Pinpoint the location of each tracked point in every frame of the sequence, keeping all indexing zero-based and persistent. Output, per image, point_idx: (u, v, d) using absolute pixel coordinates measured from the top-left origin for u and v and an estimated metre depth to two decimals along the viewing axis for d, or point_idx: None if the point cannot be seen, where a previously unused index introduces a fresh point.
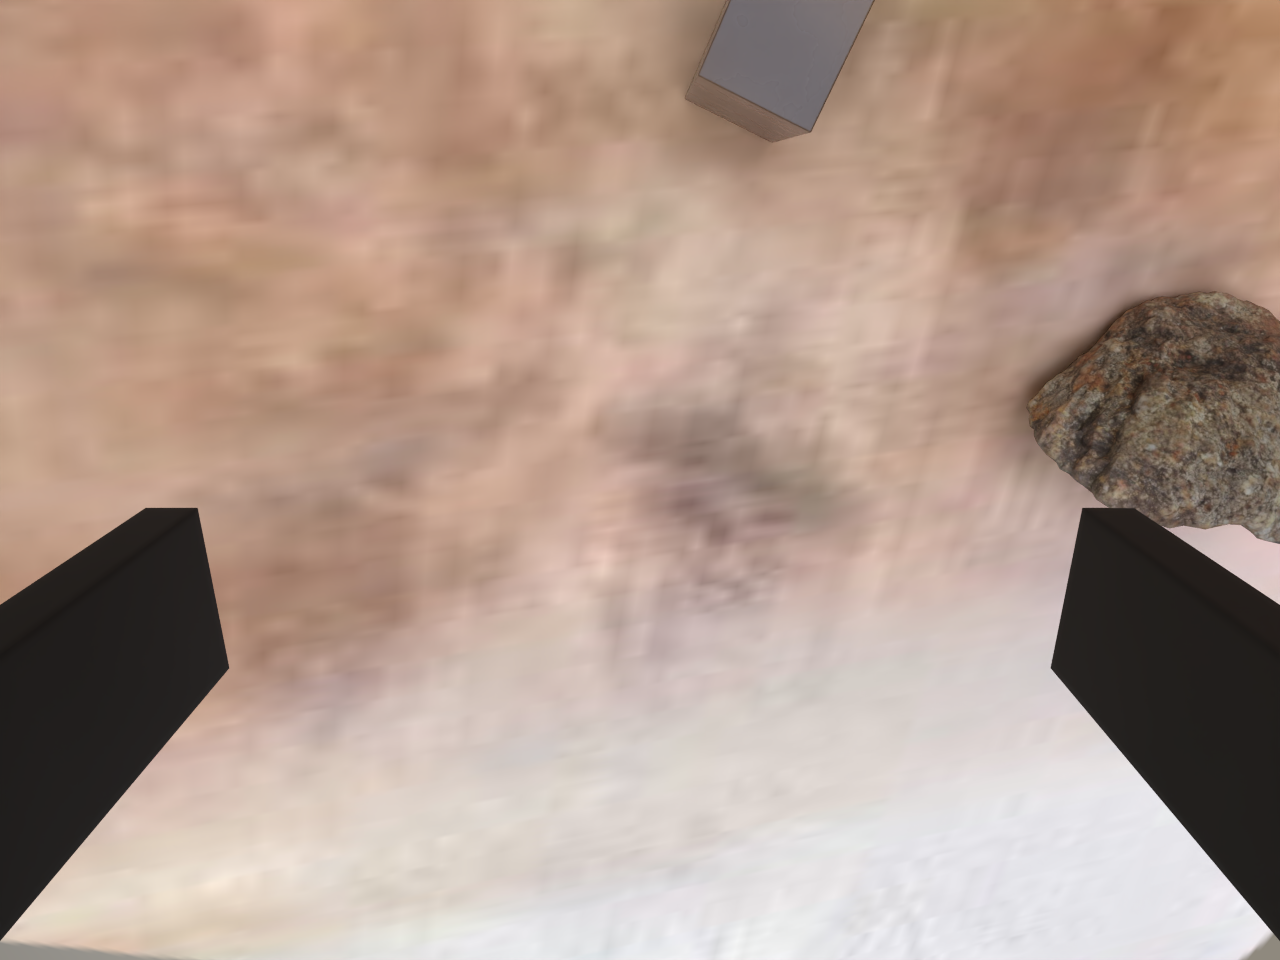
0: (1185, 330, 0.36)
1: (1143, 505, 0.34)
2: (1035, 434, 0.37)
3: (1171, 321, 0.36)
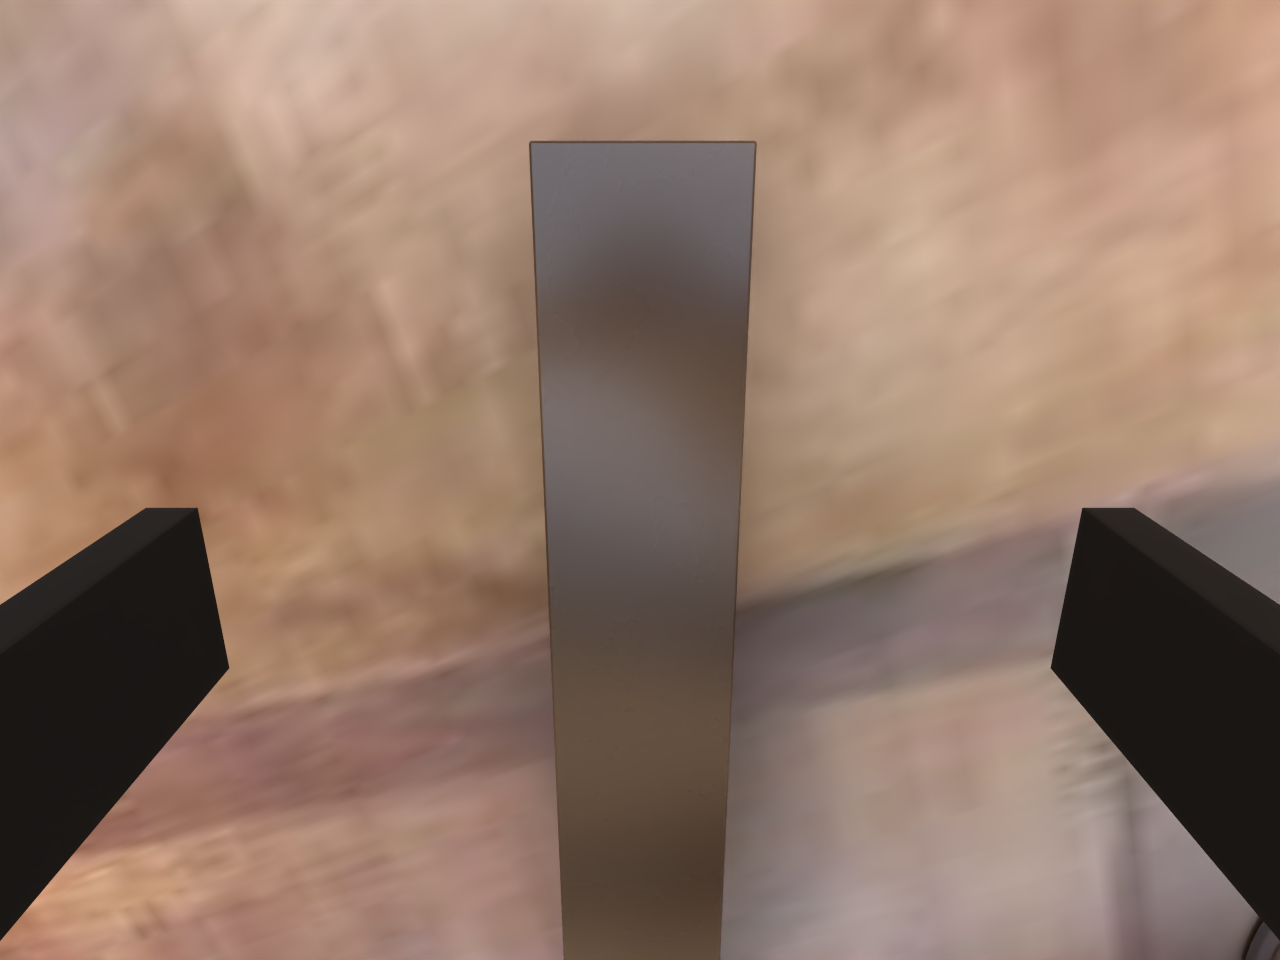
0: None
1: None
2: None
3: None
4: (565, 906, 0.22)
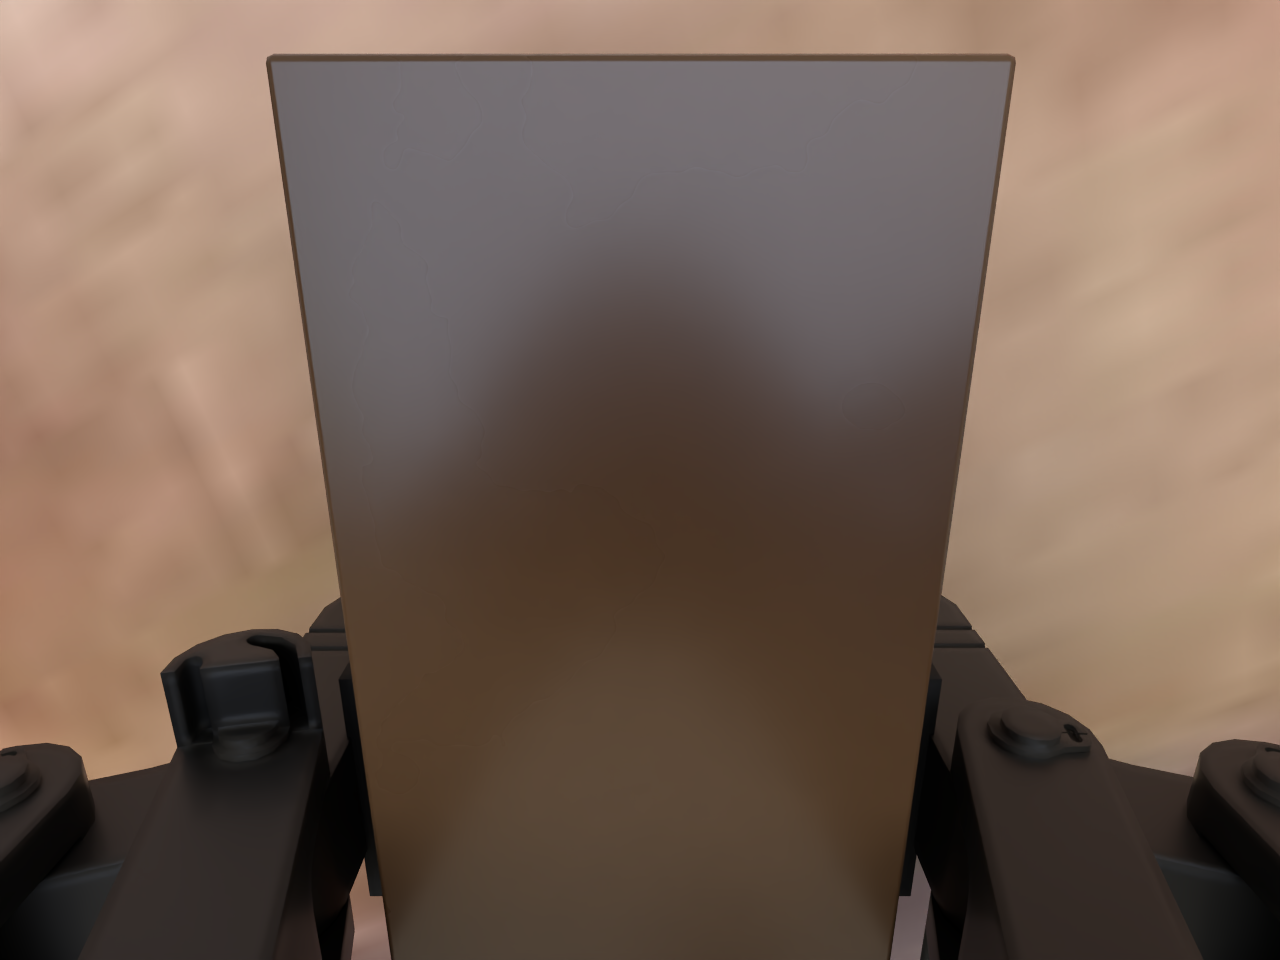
0: None
1: None
2: None
3: None
4: None
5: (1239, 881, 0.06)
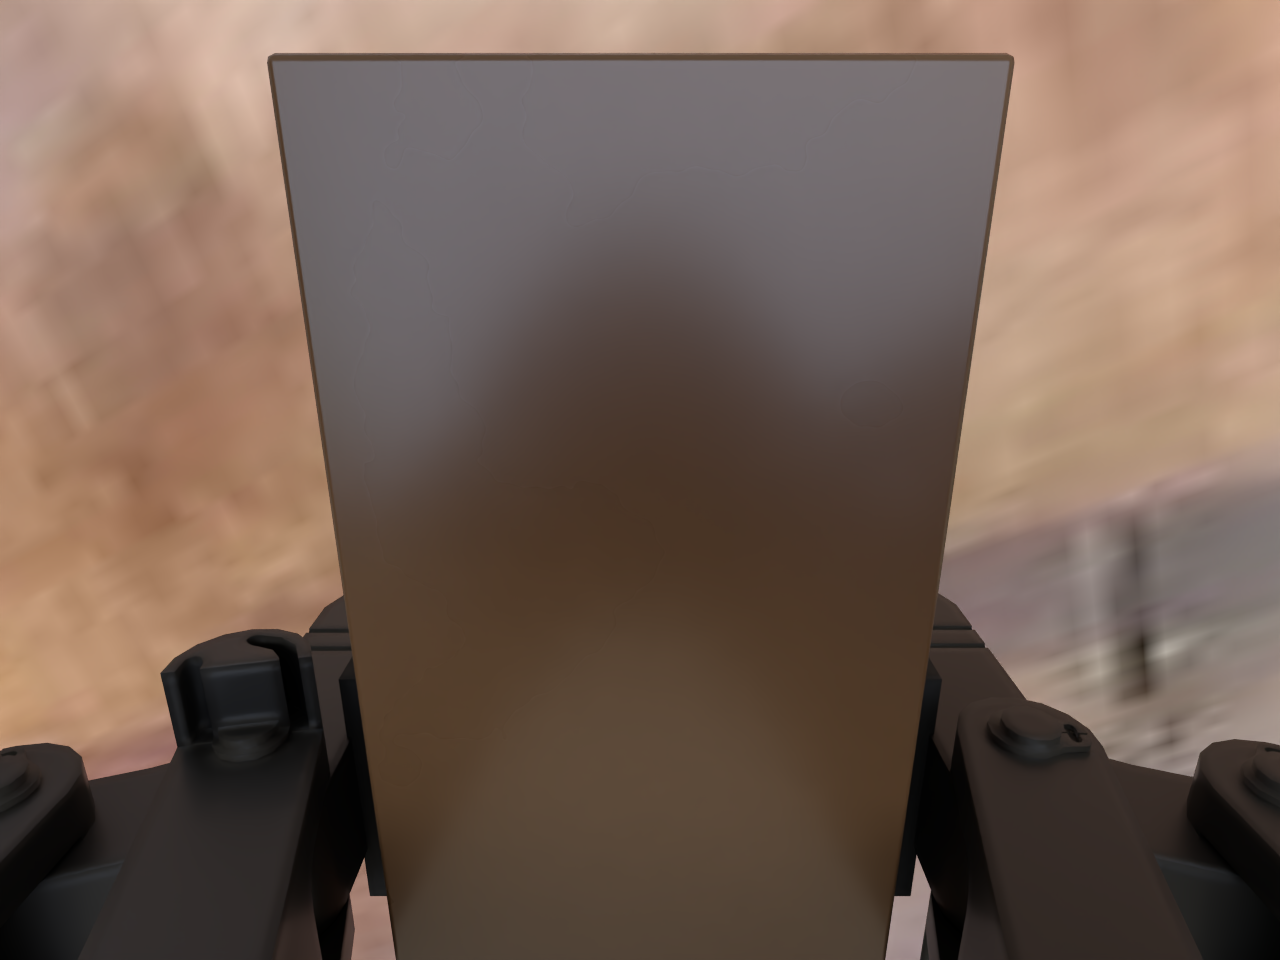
0: None
1: None
2: None
3: None
4: None
5: (1238, 880, 0.06)
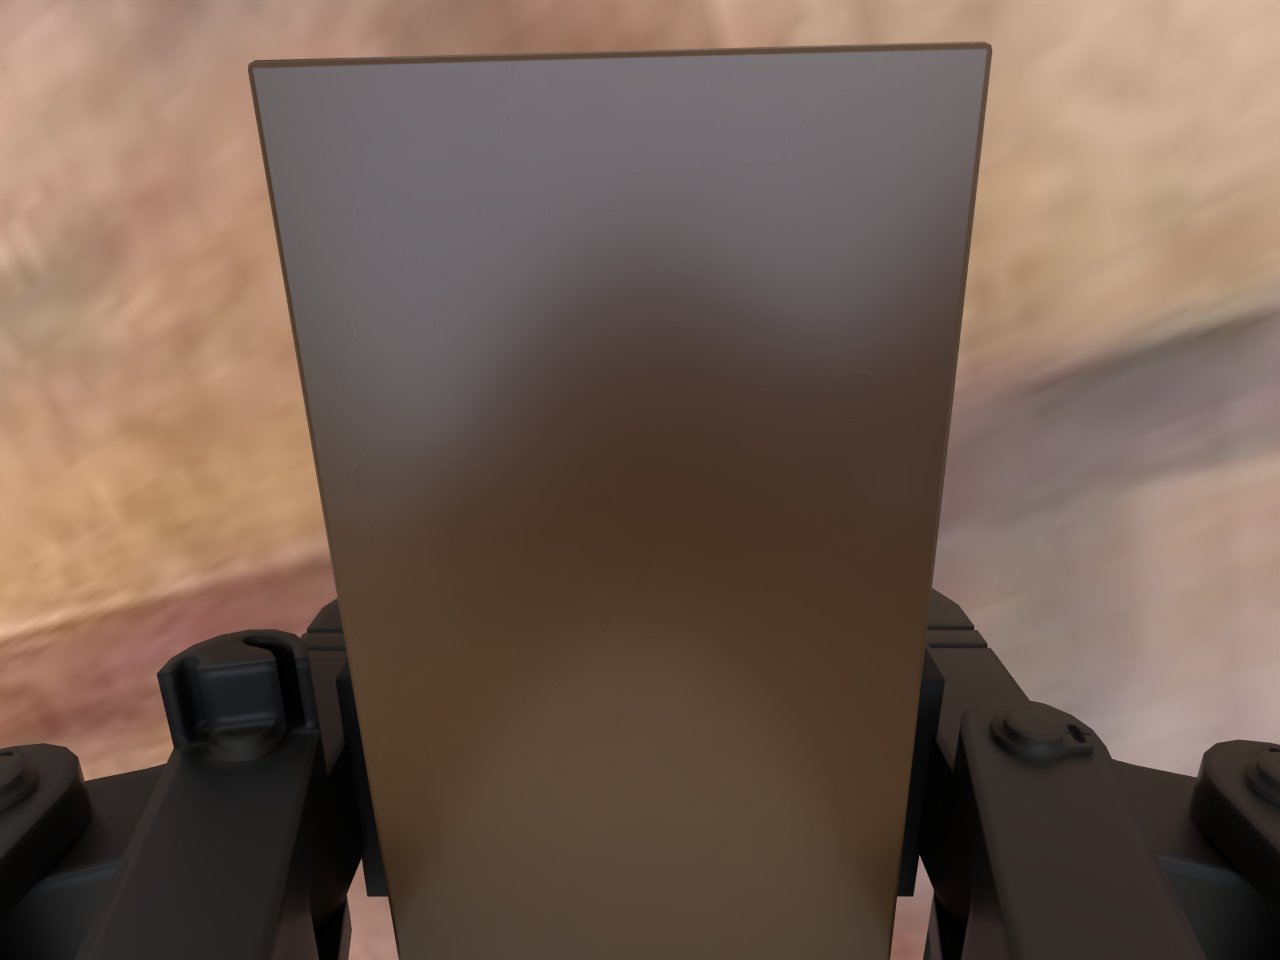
0: None
1: None
2: None
3: None
4: None
5: (1243, 880, 0.06)
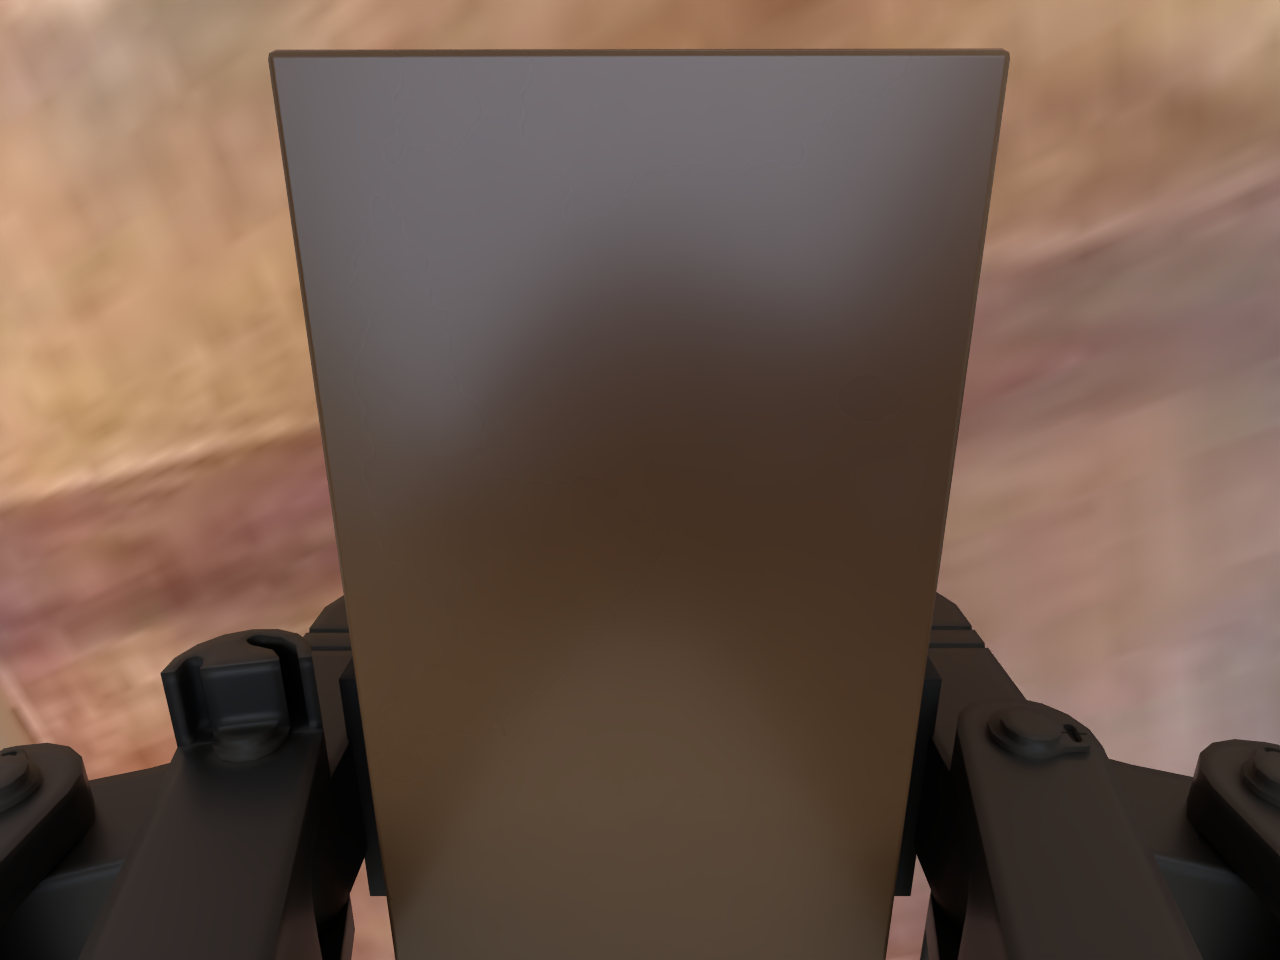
0: None
1: None
2: None
3: None
4: None
5: (1238, 881, 0.06)
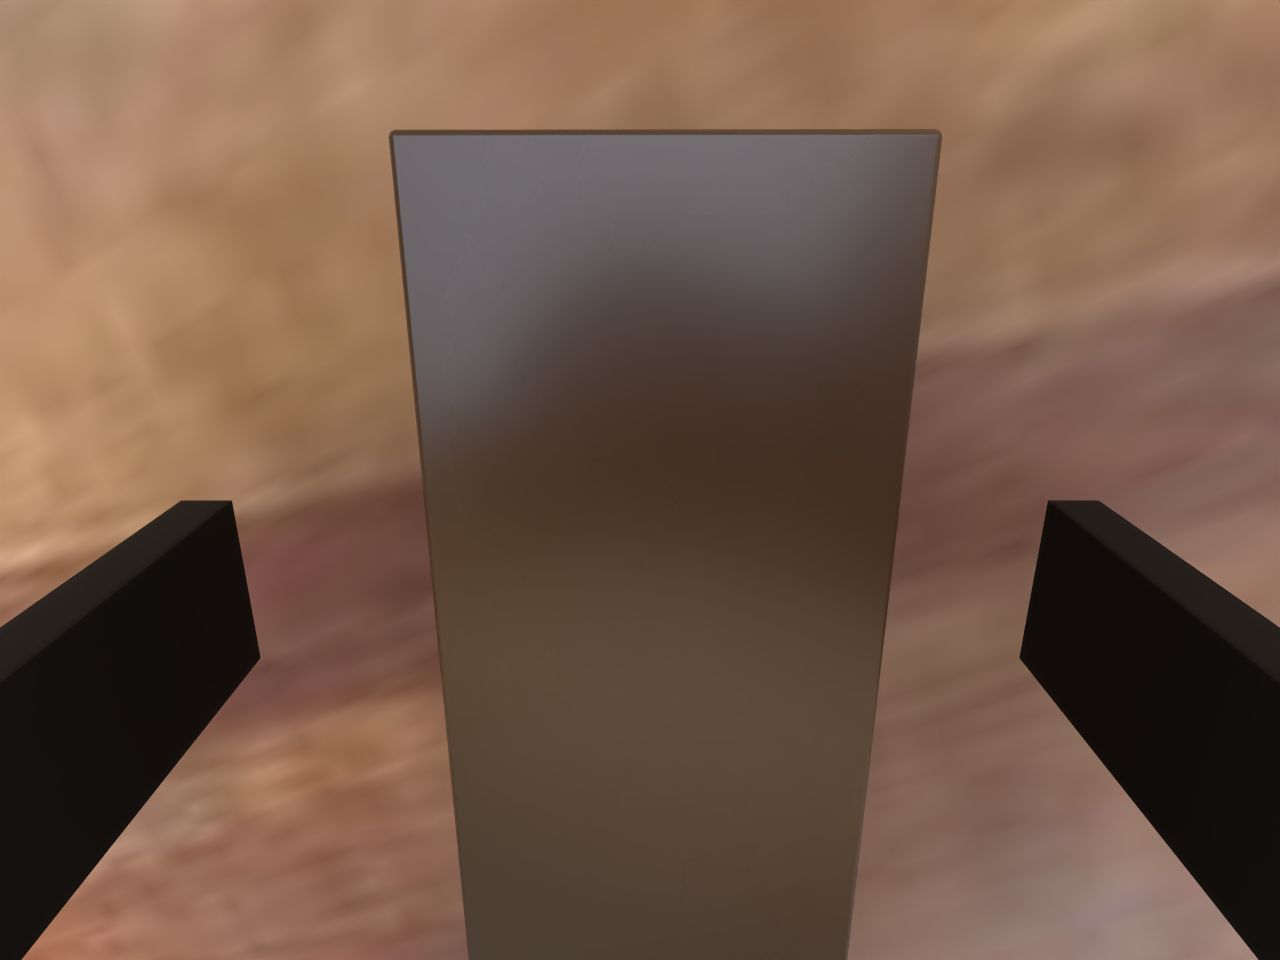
0: None
1: None
2: None
3: None
4: None
5: None
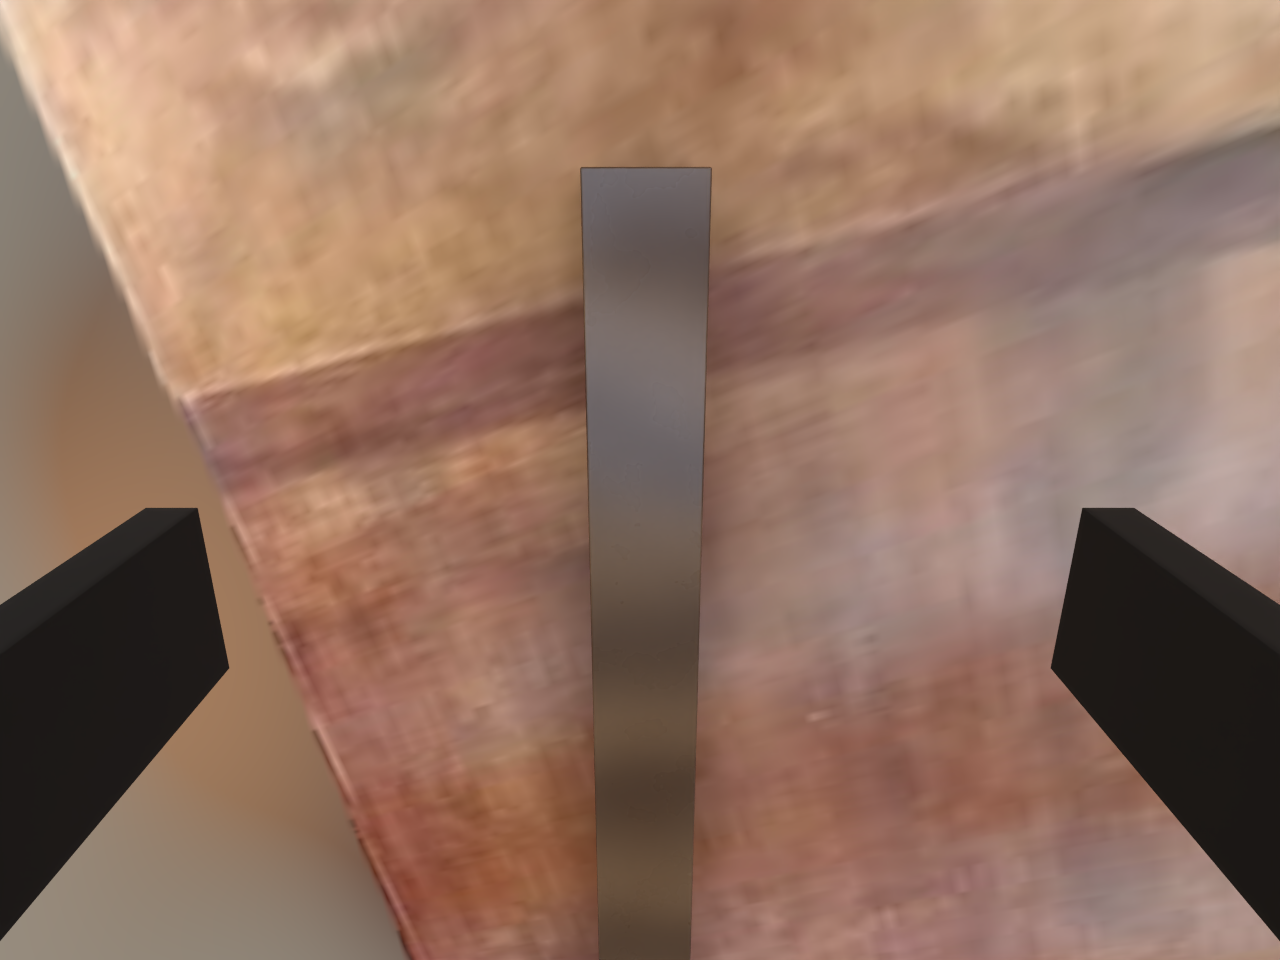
0: None
1: None
2: None
3: None
4: (594, 666, 0.33)
5: None
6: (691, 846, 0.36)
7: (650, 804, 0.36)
